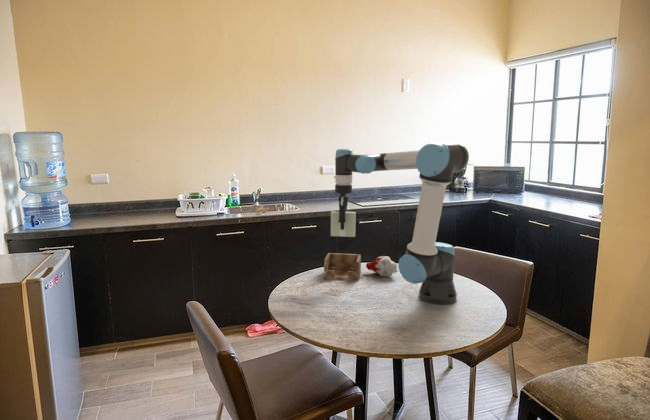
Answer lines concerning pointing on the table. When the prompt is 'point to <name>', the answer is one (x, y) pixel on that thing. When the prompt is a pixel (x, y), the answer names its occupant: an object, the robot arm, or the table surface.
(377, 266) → the white and red lump
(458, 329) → the table surface
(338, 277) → the cabinet
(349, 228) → the door
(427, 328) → the table surface
